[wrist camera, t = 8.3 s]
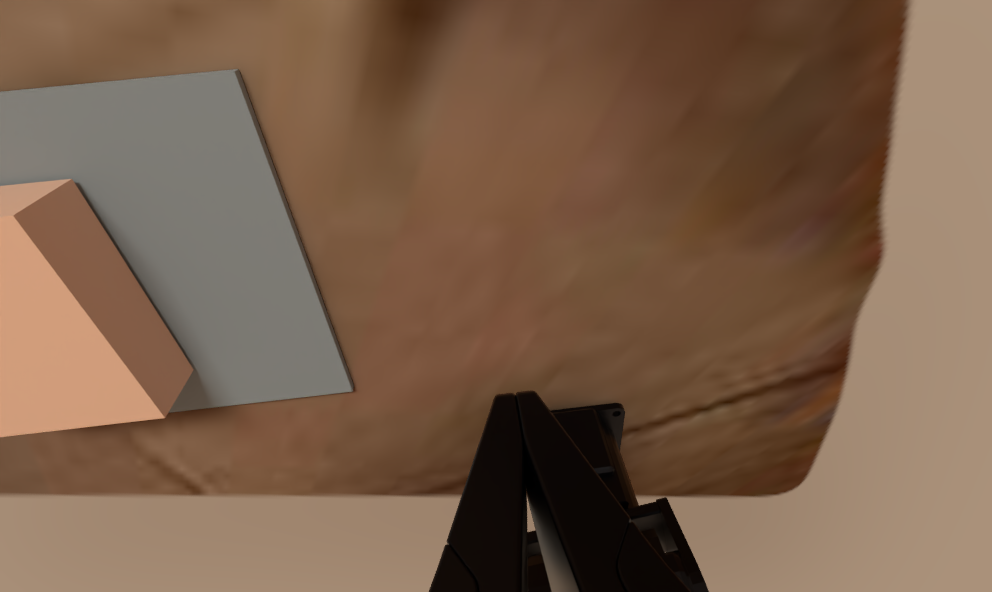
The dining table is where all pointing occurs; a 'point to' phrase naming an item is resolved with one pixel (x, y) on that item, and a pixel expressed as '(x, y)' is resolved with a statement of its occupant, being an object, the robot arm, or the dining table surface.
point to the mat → (189, 224)
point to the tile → (75, 321)
